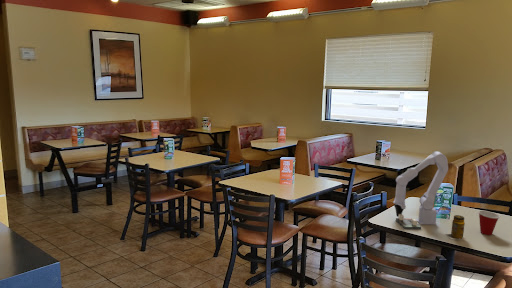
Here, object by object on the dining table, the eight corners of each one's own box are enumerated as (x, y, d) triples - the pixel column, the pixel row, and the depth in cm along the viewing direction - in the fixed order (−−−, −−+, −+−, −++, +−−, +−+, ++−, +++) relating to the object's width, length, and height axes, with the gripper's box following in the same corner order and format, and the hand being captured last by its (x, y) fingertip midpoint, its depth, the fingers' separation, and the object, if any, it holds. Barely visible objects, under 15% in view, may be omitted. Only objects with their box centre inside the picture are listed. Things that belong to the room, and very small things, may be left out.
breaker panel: (411, 220, 244) (412, 218, 243) (421, 229, 230) (421, 226, 230) (395, 220, 244) (395, 218, 243) (403, 229, 230) (404, 226, 230)
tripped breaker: (401, 218, 242) (401, 214, 241) (403, 220, 239) (403, 215, 238) (398, 218, 242) (398, 214, 241) (400, 220, 239) (400, 215, 238)
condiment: (466, 239, 217) (468, 218, 215) (452, 239, 216) (454, 219, 214) (458, 234, 224) (460, 214, 222) (444, 234, 223) (446, 214, 221)
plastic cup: (497, 238, 218) (500, 218, 216) (475, 234, 224) (477, 214, 222) (497, 232, 228) (500, 212, 226) (476, 228, 233) (478, 209, 231)
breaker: (414, 223, 234) (415, 219, 233) (416, 225, 231) (417, 220, 230) (411, 223, 234) (411, 218, 233) (413, 225, 231) (413, 220, 230)
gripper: (390, 191, 249) (388, 212, 251) (397, 198, 235) (396, 220, 237) (401, 191, 249) (399, 212, 251) (409, 198, 235) (407, 220, 237)
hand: (398, 216), depth 244 cm, fingers closed
